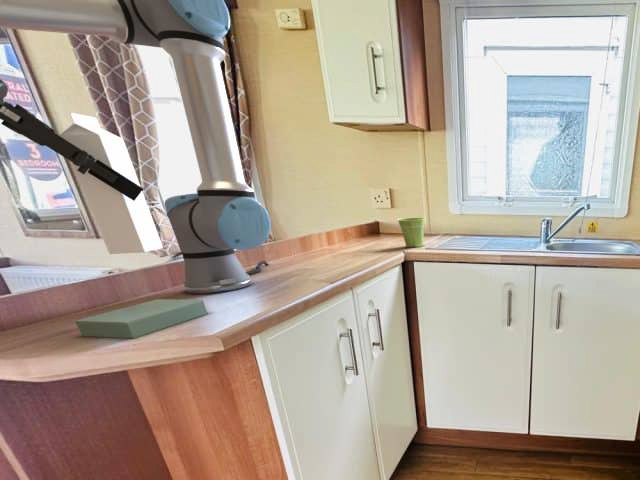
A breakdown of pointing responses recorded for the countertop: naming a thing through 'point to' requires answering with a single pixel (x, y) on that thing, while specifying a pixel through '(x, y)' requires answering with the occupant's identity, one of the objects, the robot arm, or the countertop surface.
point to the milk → (112, 190)
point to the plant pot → (412, 231)
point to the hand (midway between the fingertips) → (139, 195)
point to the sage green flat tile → (141, 318)
